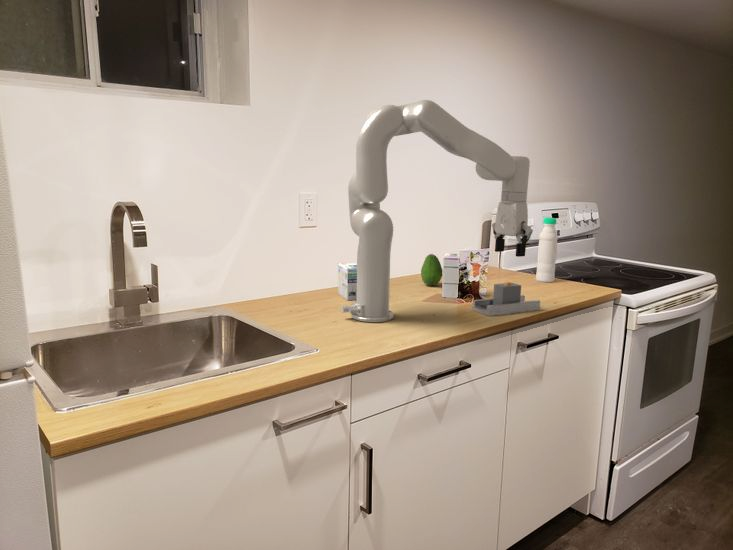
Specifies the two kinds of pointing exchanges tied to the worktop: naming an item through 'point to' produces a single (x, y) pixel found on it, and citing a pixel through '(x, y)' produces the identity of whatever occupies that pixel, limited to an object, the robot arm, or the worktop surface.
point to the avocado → (431, 270)
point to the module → (506, 293)
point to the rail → (505, 306)
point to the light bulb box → (347, 280)
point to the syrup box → (450, 275)
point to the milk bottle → (547, 251)
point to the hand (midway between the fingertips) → (509, 253)
